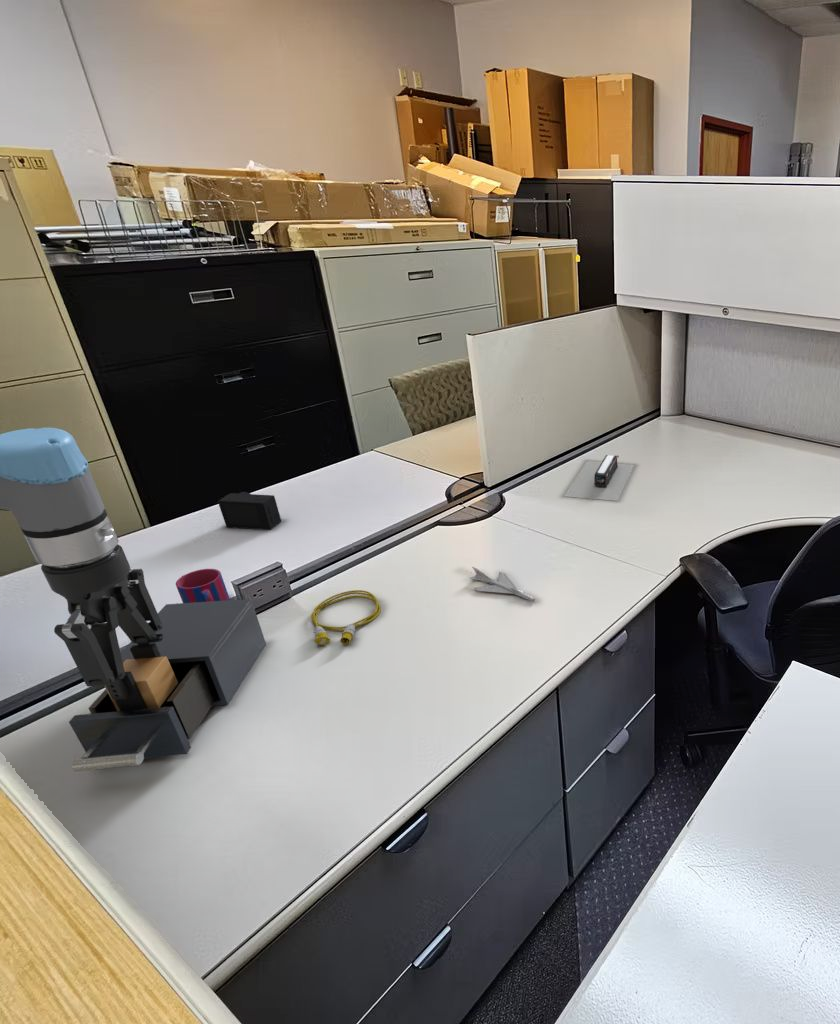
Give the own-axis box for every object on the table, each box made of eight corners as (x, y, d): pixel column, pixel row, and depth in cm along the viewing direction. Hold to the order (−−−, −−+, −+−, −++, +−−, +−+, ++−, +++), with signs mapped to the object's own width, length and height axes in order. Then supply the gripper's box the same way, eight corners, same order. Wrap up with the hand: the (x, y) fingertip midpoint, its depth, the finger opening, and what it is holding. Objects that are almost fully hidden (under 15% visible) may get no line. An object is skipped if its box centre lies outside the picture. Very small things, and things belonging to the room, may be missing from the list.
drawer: (167, 784, 81) (146, 742, 77) (66, 795, 79) (40, 752, 75) (231, 686, 97) (216, 647, 94) (149, 693, 95) (130, 653, 91)
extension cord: (281, 641, 108) (278, 632, 107) (339, 591, 122) (337, 583, 121) (345, 651, 107) (342, 642, 106) (396, 599, 121) (395, 591, 120)
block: (117, 712, 84) (103, 684, 82) (139, 686, 88) (126, 659, 86) (159, 708, 85) (146, 680, 82) (178, 683, 89) (166, 656, 87)
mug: (228, 594, 120) (218, 564, 117) (236, 619, 113) (225, 589, 110) (186, 606, 116) (174, 575, 113) (190, 633, 109) (178, 601, 106)
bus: (634, 465, 186) (634, 452, 184) (617, 500, 164) (617, 486, 162) (587, 461, 187) (586, 448, 185) (564, 496, 165) (563, 481, 163)
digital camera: (285, 519, 147) (277, 492, 144) (271, 530, 142) (263, 502, 139) (242, 516, 147) (233, 490, 144) (226, 527, 142) (217, 500, 139)
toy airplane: (521, 612, 119) (521, 602, 118) (445, 578, 128) (444, 569, 127) (548, 593, 125) (547, 583, 124) (473, 562, 134) (472, 553, 133)
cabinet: (227, 704, 95) (208, 656, 90) (134, 713, 93) (110, 663, 88) (266, 644, 108) (251, 598, 103) (185, 650, 105) (166, 604, 101)
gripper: (66, 593, 69) (140, 743, 79) (156, 518, 84) (208, 651, 95) (-14, 598, 67) (72, 749, 78) (93, 520, 83) (152, 655, 93)
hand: (146, 695), depth 86 cm, fingers closed on block, 5 cm apart
